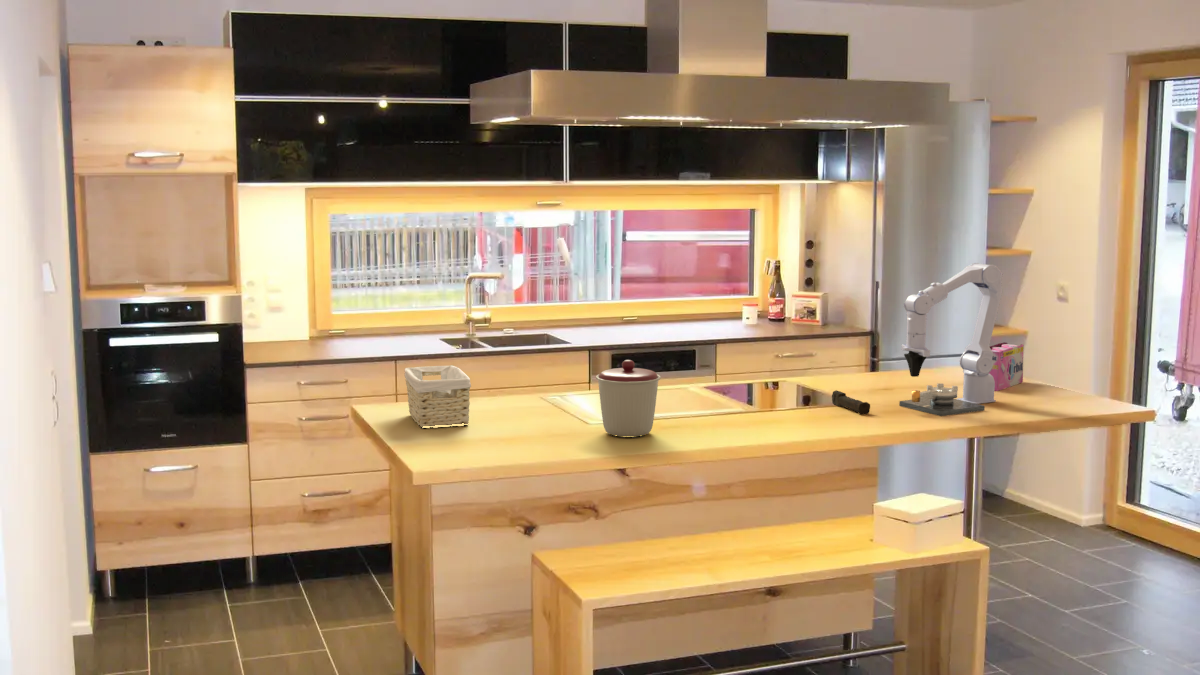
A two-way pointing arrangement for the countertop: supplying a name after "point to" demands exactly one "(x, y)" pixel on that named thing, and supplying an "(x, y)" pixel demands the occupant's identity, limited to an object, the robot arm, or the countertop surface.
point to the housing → (943, 406)
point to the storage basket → (438, 395)
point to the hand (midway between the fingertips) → (914, 376)
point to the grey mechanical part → (935, 393)
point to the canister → (628, 399)
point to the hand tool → (850, 403)
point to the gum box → (1007, 365)
